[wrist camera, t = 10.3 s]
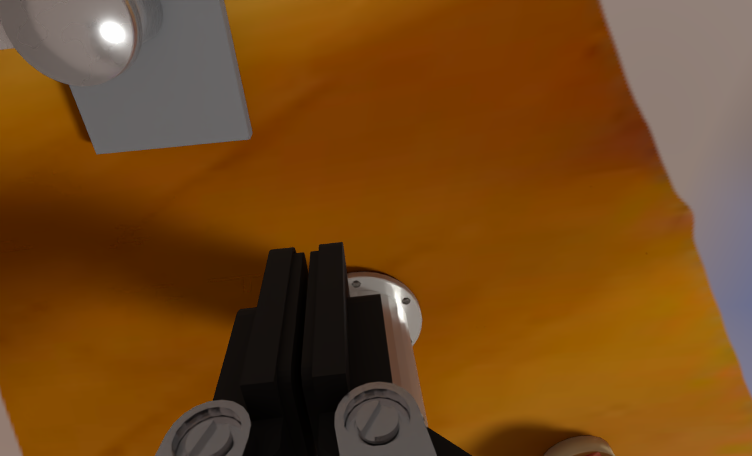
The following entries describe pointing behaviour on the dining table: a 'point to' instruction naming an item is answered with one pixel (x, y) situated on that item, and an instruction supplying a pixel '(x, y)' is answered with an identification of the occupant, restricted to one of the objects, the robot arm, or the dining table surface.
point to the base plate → (172, 87)
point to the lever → (79, 35)
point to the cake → (581, 447)
